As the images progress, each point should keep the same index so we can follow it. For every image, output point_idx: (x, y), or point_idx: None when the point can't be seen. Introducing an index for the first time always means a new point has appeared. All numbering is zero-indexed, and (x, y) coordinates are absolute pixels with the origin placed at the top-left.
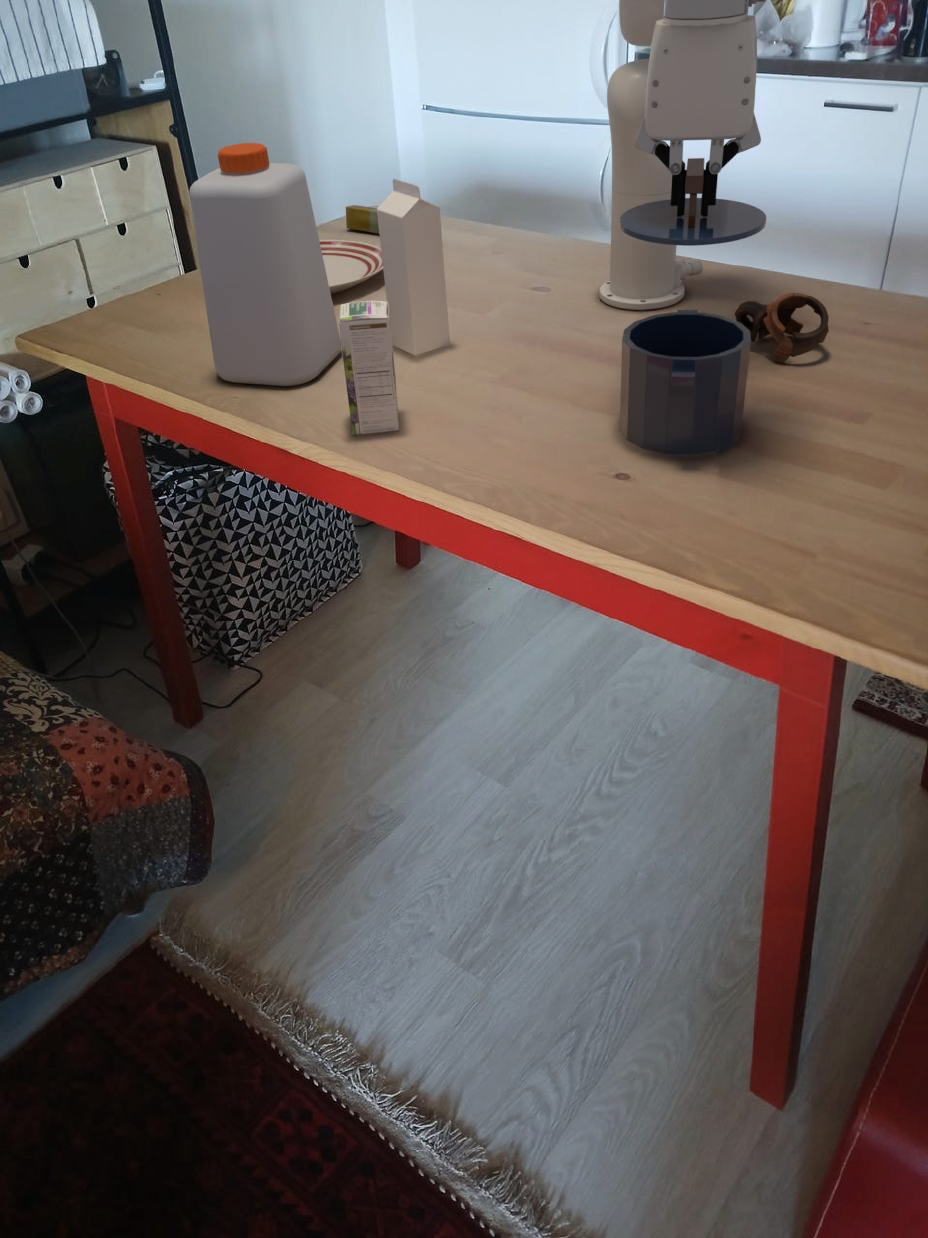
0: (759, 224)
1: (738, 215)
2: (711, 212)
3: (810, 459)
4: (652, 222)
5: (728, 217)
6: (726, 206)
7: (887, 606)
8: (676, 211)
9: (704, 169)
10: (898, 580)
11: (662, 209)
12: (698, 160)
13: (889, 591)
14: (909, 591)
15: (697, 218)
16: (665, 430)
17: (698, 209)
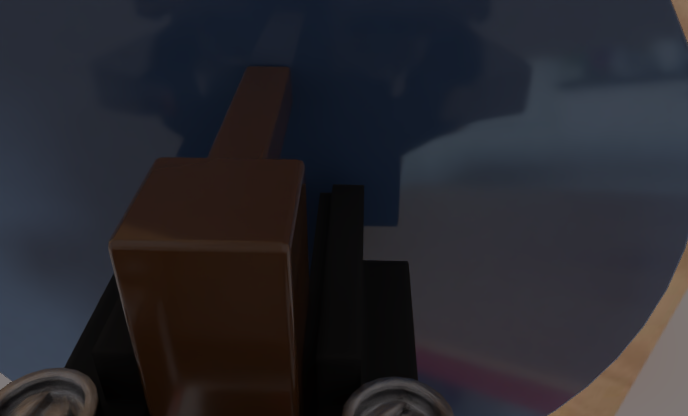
0: (609, 354)
1: (538, 220)
2: (388, 161)
3: None
4: (89, 306)
5: (477, 253)
6: (496, 35)
7: (588, 401)
8: (174, 130)
9: (308, 374)
10: (620, 363)
11: (75, 83)
12: (234, 325)
13: (601, 380)
14: (625, 379)
15: (310, 261)
16: None
17: (307, 100)
